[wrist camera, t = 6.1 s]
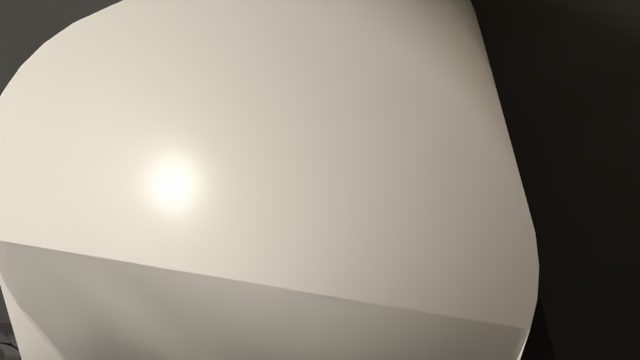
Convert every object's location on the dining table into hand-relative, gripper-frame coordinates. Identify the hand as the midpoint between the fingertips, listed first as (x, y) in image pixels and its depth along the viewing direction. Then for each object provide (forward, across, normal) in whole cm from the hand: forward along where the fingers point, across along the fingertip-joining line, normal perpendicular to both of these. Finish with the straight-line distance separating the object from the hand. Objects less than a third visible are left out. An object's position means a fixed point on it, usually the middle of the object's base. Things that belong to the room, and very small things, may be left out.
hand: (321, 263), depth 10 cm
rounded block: (+1, 0, 0) cm, 1 cm away
